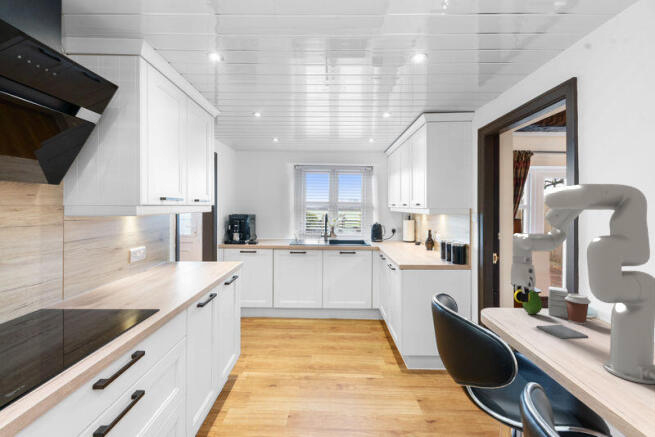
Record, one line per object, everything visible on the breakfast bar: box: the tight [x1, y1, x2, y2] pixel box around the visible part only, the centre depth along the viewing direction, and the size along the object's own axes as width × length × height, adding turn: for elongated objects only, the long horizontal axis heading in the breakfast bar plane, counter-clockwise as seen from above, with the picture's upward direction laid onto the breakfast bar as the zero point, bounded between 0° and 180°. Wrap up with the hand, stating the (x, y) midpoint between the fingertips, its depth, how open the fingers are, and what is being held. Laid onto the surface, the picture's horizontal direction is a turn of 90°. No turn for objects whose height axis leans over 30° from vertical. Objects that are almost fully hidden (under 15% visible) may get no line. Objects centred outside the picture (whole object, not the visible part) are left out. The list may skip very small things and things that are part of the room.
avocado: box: [522, 289, 543, 315], centre depth 151 cm, size 8×8×12 cm
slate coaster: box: [536, 324, 589, 340], centre depth 128 cm, size 12×12×1 cm
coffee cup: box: [565, 293, 592, 325], centre depth 141 cm, size 9×9×12 cm
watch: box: [513, 289, 530, 304], centre depth 140 cm, size 6×3×6 cm, turn 81°
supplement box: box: [548, 286, 569, 319], centre depth 150 cm, size 7×7×13 cm
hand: (522, 300), depth 140 cm, fingers closed on watch, 2 cm apart
